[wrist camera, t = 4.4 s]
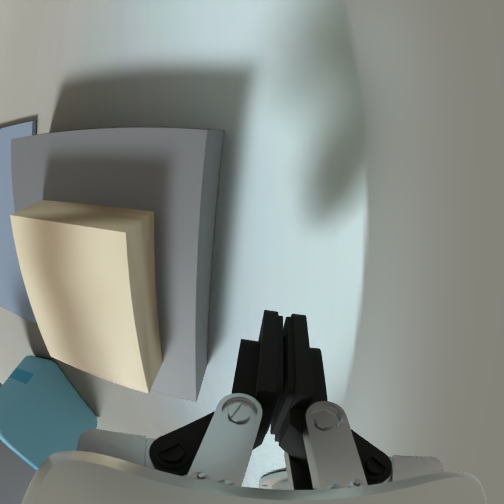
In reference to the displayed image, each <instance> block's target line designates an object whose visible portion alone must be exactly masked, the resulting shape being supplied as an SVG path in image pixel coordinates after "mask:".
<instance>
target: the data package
mask: <svg viewBox="0 0 504 504" xmlns="http://www.w3.org/2000/svg"><path fill="white" fill-rule="evenodd" d="M96 427H97V418H96V416H95V414H94V413H93V411H92V410H91V409H90V408H89V407H88V405H87V404H86V403H85V402H84V400H83V399H82V398H81V397H80V395H79V394H78V393H77V391H76V390H75V389H74V387H73V386H72V385H71V383H70V382H69V381H68V379H67V378H66V376H65V375H64V374H63V372H62V371H61V369H60V368H59V366H58V365H57V364H56V363H55V362H54V361H52V360H48V359H43V358H39V357H35V356H31V355H30V356H26V357H25V358H24V359H23V360H22V362H21V363H20V364H19V365H18V366H17V368H16V369H15V370H14V371H13V373H12V374H11V375H10V376H9V378H8V379H7V380H6V382H5V383H4V384H3V386H2V387H1V388H0V439H1V440H2V441H3V442H4V443H5V444H6V445H7V446H8V447H9V448H10V449H12V450H13V451H14V452H15V453H16V454H17V455H19V456H20V457H21V458H22V459H23V460H24V461H26V462H27V463H28V464H29V465H31V466H32V467H33V468H34V469H36V470H38V468H39V467H40V466H41V464H42V463H43V462H44V461H45V460H46V459H47V457H49V456H50V455H52V454H53V453H56V452H60V451H71V450H72V451H76V448H77V443H78V439H79V437H80V435H81V434H82V433H83V432H84V431H85V430H88V429H96Z"/></svg>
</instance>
